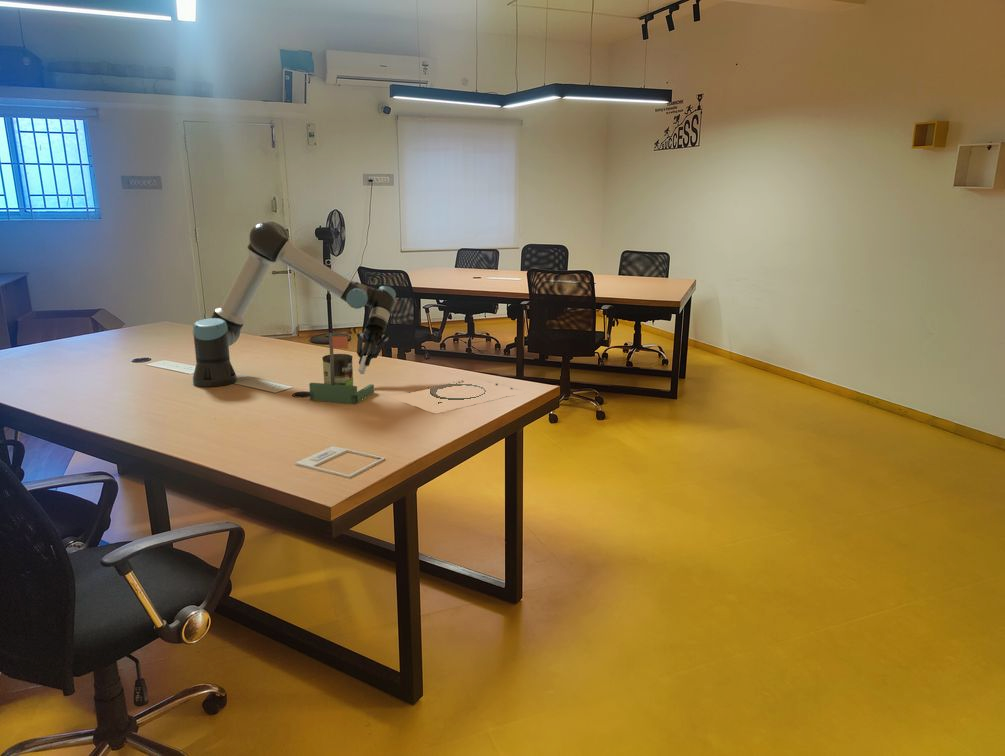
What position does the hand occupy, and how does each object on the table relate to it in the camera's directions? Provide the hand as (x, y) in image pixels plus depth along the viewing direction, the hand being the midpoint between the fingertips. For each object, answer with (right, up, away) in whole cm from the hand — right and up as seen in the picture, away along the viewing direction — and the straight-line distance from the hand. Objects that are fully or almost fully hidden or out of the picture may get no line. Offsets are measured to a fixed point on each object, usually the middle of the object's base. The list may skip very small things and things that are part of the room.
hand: (361, 372), depth 249 cm
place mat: (+37, -9, -8) cm, 39 cm away
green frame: (-3, -9, -13) cm, 16 cm away
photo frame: (+10, -25, -74) cm, 79 cm away
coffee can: (-5, -9, -12) cm, 16 cm away
